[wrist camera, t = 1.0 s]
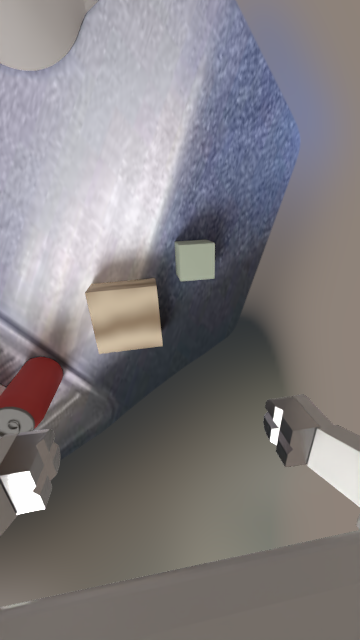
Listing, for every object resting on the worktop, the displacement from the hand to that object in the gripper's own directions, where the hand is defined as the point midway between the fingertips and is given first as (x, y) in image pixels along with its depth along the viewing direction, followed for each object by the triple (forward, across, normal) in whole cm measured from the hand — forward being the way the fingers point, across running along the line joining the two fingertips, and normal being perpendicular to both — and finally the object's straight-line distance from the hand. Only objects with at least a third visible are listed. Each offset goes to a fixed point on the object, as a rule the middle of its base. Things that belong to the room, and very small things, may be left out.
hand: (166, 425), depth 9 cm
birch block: (+32, +4, +7) cm, 33 cm away
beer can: (+32, +20, +17) cm, 41 cm away
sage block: (+32, -7, -1) cm, 32 cm away
